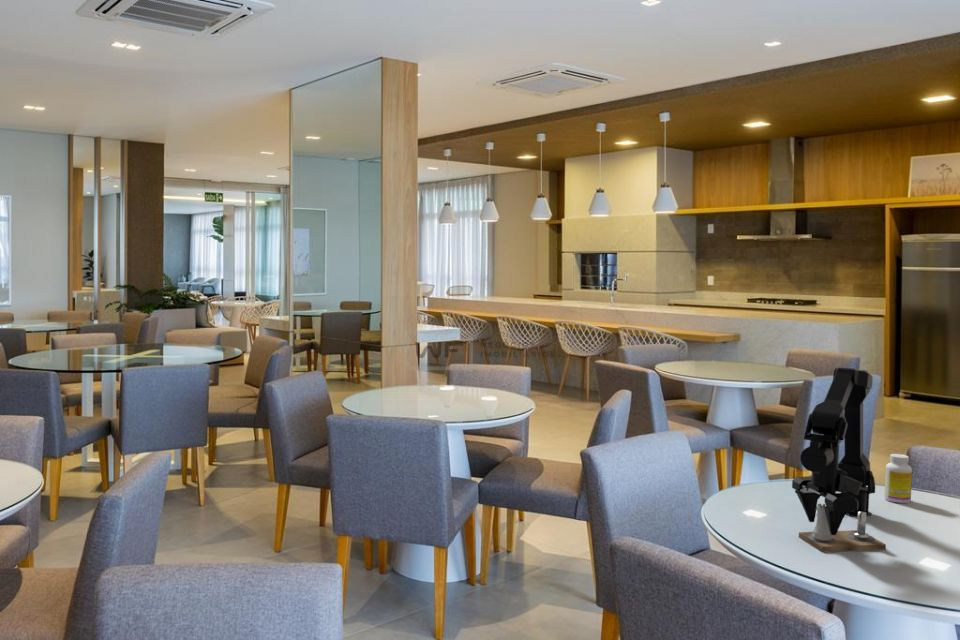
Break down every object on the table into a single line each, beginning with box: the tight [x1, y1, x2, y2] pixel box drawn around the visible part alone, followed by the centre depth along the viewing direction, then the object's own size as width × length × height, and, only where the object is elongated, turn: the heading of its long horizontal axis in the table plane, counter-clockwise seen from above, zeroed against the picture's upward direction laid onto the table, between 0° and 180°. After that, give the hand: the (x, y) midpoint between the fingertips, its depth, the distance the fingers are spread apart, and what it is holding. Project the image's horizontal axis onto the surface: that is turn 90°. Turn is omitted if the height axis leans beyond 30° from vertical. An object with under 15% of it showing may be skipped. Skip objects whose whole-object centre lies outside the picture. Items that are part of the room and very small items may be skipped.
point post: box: [854, 511, 870, 539], centre depth 191 cm, size 3×3×6 cm
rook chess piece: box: [811, 503, 832, 541], centre depth 189 cm, size 4×4×8 cm
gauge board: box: [798, 529, 887, 553], centre depth 190 cm, size 16×10×1 cm, turn 98°
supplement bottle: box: [884, 453, 913, 504], centre depth 225 cm, size 7×7×13 cm
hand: (822, 528), depth 189 cm, fingers open, 9 cm apart
